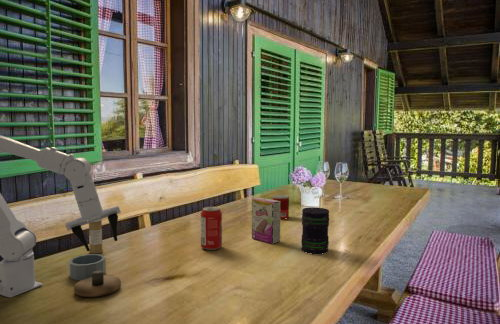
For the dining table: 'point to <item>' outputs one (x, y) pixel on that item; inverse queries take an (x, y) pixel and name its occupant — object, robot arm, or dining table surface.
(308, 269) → the dining table surface
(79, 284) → the lid
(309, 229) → the storage jar
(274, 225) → the candy bar box
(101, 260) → the bowl
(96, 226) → the sprinkles bottle
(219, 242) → the soda can
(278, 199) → the canned food
